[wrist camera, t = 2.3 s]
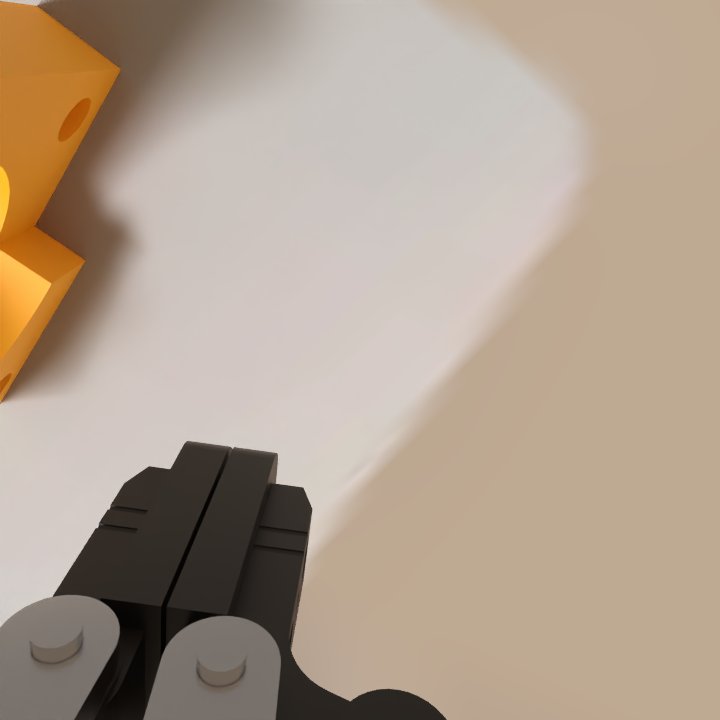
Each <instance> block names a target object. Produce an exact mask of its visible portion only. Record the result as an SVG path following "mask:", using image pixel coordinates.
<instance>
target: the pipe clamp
mask: <svg viewBox="0 0 720 720" xmlns="http://www.w3.org/2000/svg"><path fill="white" fill-rule="evenodd" d="M120 71H121V69H120V68H119V67H117V66H116V65H115V64H113V63H112V62H111V61H109V60H108V59H107V58H105V57H104V56H103V55H101V54H100V53H99V52H97V51H96V50H95V49H93V48H92V47H91V46H89V45H88V44H87V43H85V42H84V41H83V40H81V39H80V38H79V37H77V36H76V35H75V34H73V33H72V32H71V31H70V30H68V29H67V28H66V27H64V26H63V25H62V24H60V23H59V22H58V21H56V20H55V19H54V18H52V17H51V16H50V15H48V14H47V13H46V12H44V11H43V10H42V9H40V8H39V7H38V6H34V5H26V4H18V3H10V2H3V1H0V403H1V401H2V400H3V398H4V396H5V395H6V393H7V391H8V390H9V388H10V386H11V385H12V383H13V381H14V380H15V378H16V376H17V375H18V373H19V371H20V370H21V368H22V366H23V365H24V363H25V361H26V360H27V358H28V356H29V354H30V353H31V351H32V349H33V348H34V346H35V344H36V343H37V341H38V339H39V338H40V336H41V334H42V333H43V331H44V329H45V328H46V326H47V324H48V323H49V321H50V319H51V318H52V316H53V314H54V313H55V311H56V309H57V308H58V306H59V304H60V303H61V301H62V299H63V298H64V296H65V294H66V293H67V291H68V289H69V288H70V286H71V284H72V283H73V281H74V279H75V278H76V276H77V274H78V273H79V271H80V269H81V268H82V266H83V264H84V263H85V261H86V260H84V259H83V258H81V257H80V256H78V255H77V254H75V253H74V252H72V251H71V250H69V249H68V248H66V247H65V246H63V245H62V244H60V243H59V242H57V241H56V240H54V239H53V238H51V237H50V236H48V235H47V234H45V233H44V232H43V231H41V230H40V229H38V228H37V227H35V225H36V223H37V222H38V220H39V218H40V216H41V214H42V213H43V211H44V209H45V207H46V205H47V203H48V202H49V200H50V198H51V196H52V194H53V193H54V191H55V189H56V187H57V185H58V183H59V182H60V180H61V178H62V176H63V174H64V173H65V171H66V169H67V167H68V165H69V163H70V162H71V160H72V158H73V156H74V154H75V153H76V151H77V149H78V147H79V145H80V143H81V142H82V140H83V138H84V136H85V134H86V133H87V131H88V129H89V127H90V125H91V123H92V122H93V120H94V118H95V116H96V114H97V113H98V111H99V109H100V107H101V105H102V103H103V102H104V100H105V98H106V96H107V94H108V93H109V91H110V89H111V87H112V85H113V83H114V82H115V80H116V78H117V76H118V74H119V73H120Z"/></svg>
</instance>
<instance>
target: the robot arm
mask: <svg viewBox="0 0 720 720" xmlns="http://www.w3.org/2000/svg"><path fill="white" fill-rule="evenodd" d="M277 464H278V454H277V453H272V452H265V451H257V450H250V449H243V448H236V447H234V448H233V449H232V448H231V447H228V446H220V445H213V444H206V443H199V442H192V441H187V442H186V443H185V444H184V445H183V447H182V449H181V451H180V453H179V455H178V456H177V458H176V460H175V462H174V464H173V466H172V467H171V469H164V468H157V467H150V466H149V467H148V468H146V469H145V470H143V471H142V472H140V473H139V474H137V475H136V476H134V477H133V478H131V479H130V480H129V481H127V482H126V483H124V485H123V486H122V488H121V490H120V491H119V493H118V494H117V496H116V497H115V499H114V501H113V502H112V504H111V507H110V510H107V512H106V513H105V515H104V516H103V518H102V520H101V521H100V523H99V527H98V528H96V529H95V531H94V532H93V534H92V535H91V537H90V538H89V540H88V542H87V543H86V545H85V546H84V548H83V550H82V551H81V553H80V554H79V556H78V557H77V559H76V561H75V562H74V564H73V565H72V567H71V568H70V570H69V572H68V573H67V575H66V576H65V578H64V579H63V581H62V583H61V584H60V586H59V587H58V589H57V590H56V592H55V594H54V595H53V597H51V598H47V599H43V600H41V601H38V602H35V603H33V604H31V605H29V606H27V607H25V608H23V609H22V610H20V611H18V612H17V613H15V614H14V615H13V616H12V617H10V618H9V619H8V620H7V621H6V622H5V623H4V624H3V625H2V626H1V627H0V720H446V718H445V717H444V716H443V715H442V714H441V713H440V712H439V711H438V710H437V709H436V708H435V707H434V706H432V705H431V704H430V703H429V702H427V701H425V700H424V699H422V698H420V697H418V696H416V695H414V694H411V693H409V692H405V691H401V690H393V689H380V690H374V691H370V692H367V693H365V694H362V695H360V696H358V697H356V698H355V699H353V700H352V701H351V702H350V701H348V700H346V699H344V698H342V697H340V696H337V695H335V694H333V693H331V692H329V691H327V690H325V689H323V688H322V687H320V686H318V685H317V684H315V683H314V682H313V681H311V680H310V679H309V678H308V677H307V676H306V675H305V674H304V673H303V672H302V671H301V669H300V668H299V666H298V665H297V664H296V661H295V659H294V657H293V655H292V652H291V647H292V642H293V636H294V630H295V625H296V619H297V613H298V607H299V602H300V597H301V591H302V585H303V579H304V571H305V563H306V555H307V547H308V540H309V532H310V524H311V516H312V507H311V505H310V502H309V500H308V498H307V495H306V493H305V491H304V488H302V487H295V486H288V485H280V484H276V475H277Z"/></svg>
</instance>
